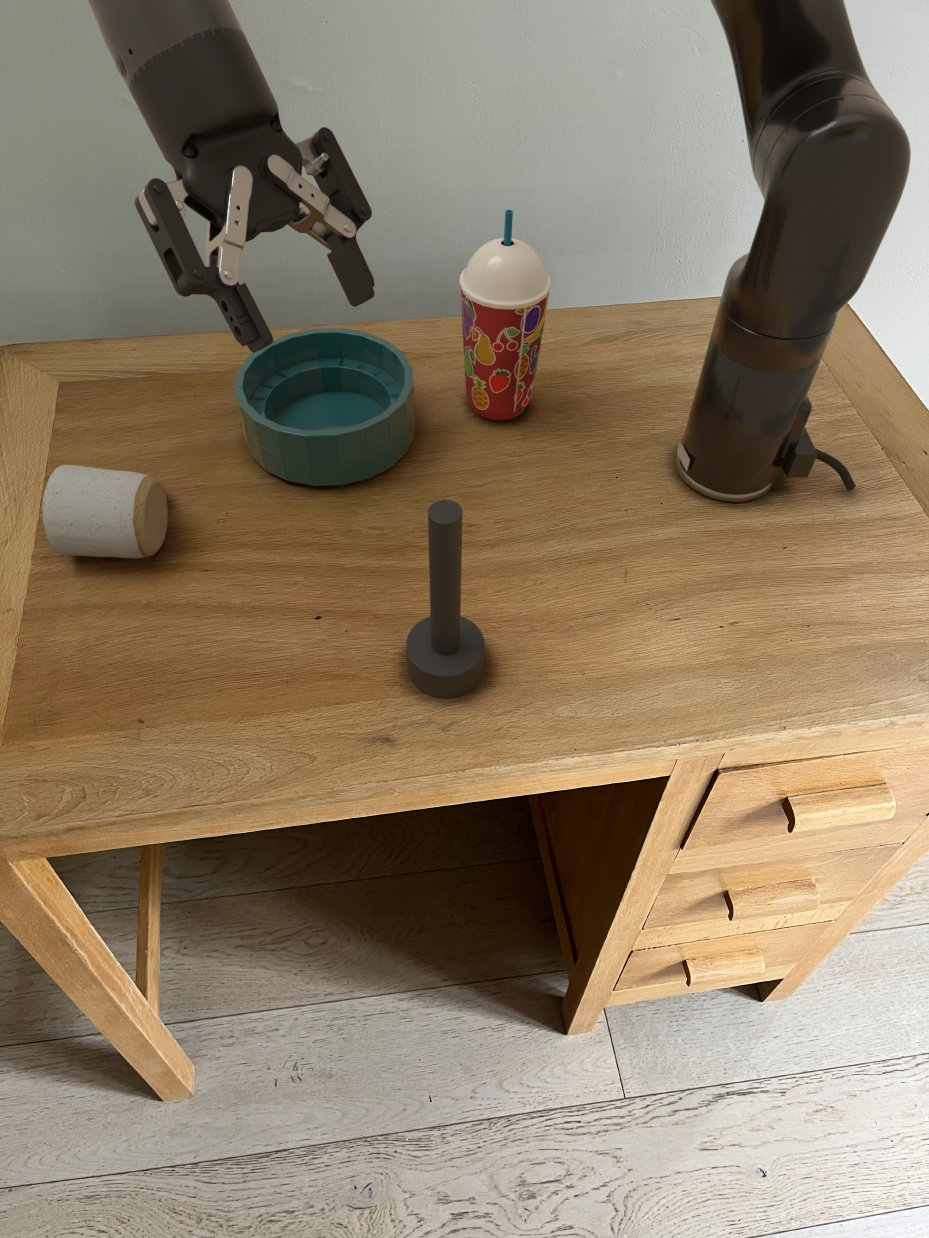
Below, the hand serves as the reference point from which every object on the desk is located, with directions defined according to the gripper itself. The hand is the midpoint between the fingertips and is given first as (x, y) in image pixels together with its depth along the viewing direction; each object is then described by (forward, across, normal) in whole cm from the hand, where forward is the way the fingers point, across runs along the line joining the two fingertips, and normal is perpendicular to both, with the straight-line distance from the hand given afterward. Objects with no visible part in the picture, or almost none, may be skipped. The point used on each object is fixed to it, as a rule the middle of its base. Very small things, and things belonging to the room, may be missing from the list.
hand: (316, 324), depth 55 cm
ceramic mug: (+8, -9, +29) cm, 32 cm away
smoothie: (+14, +28, +18) cm, 36 cm away
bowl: (+9, +13, +26) cm, 30 cm away
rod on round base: (+27, 0, +5) cm, 27 cm away
